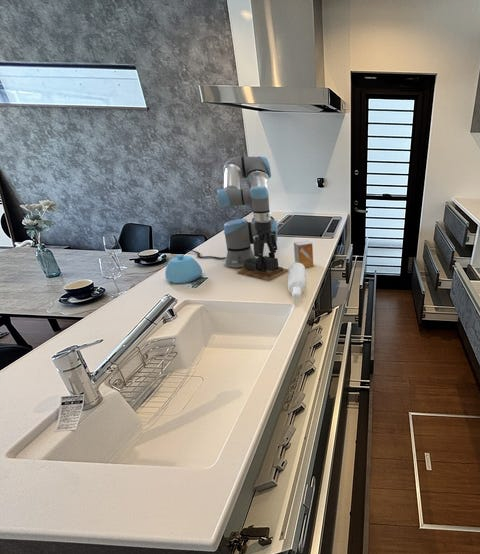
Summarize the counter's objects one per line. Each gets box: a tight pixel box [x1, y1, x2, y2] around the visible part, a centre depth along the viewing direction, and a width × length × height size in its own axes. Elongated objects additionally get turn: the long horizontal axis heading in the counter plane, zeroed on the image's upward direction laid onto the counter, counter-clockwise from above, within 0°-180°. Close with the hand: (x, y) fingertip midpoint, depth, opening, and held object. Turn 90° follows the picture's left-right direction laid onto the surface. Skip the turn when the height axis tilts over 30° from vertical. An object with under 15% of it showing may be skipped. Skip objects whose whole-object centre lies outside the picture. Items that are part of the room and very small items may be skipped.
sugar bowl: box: [164, 253, 203, 284], centre depth 142 cm, size 15×15×12 cm
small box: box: [293, 240, 314, 269], centre depth 161 cm, size 8×6×13 cm
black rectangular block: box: [257, 255, 279, 271], centre depth 150 cm, size 8×6×5 cm
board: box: [237, 257, 289, 282], centre depth 153 cm, size 20×14×6 cm
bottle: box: [287, 262, 307, 303], centre depth 134 cm, size 8×8×30 cm
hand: (267, 266), depth 151 cm, fingers closed on black rectangular block, 6 cm apart
